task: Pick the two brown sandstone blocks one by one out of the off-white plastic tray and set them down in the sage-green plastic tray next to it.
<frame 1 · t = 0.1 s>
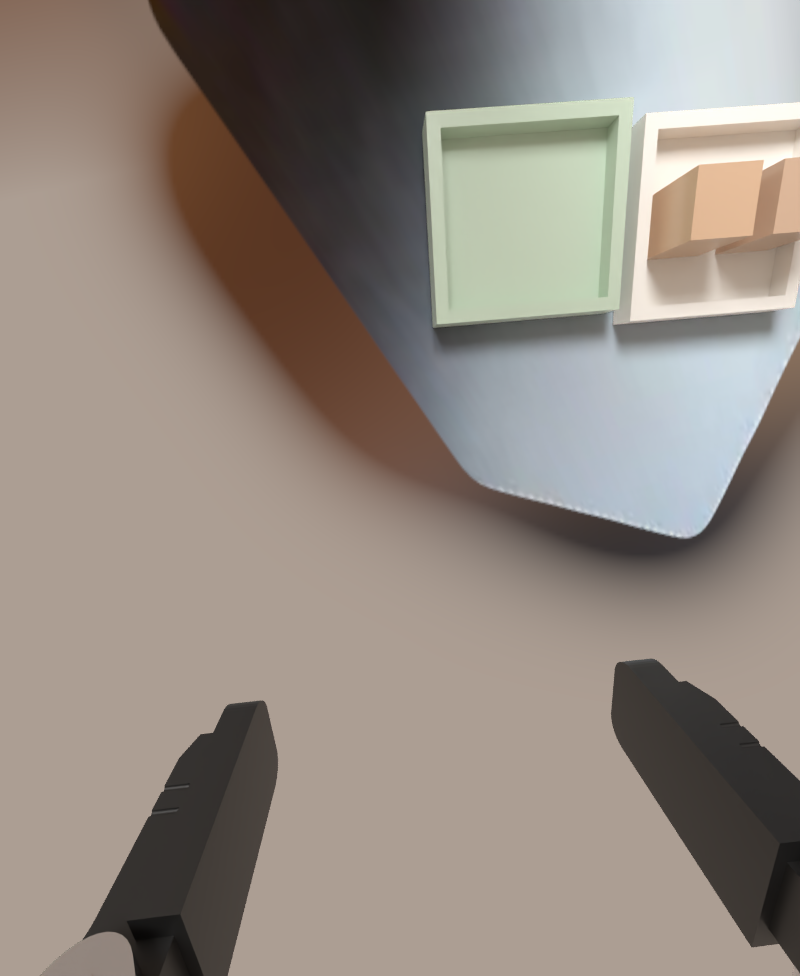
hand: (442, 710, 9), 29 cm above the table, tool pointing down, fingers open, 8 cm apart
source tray: (700, 228, 33), on the table
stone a: (674, 227, 32), point 1 cm above the table, touching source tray
tan block: (745, 221, 32), point 1 cm above the table, touching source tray
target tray: (518, 229, 32), on the table
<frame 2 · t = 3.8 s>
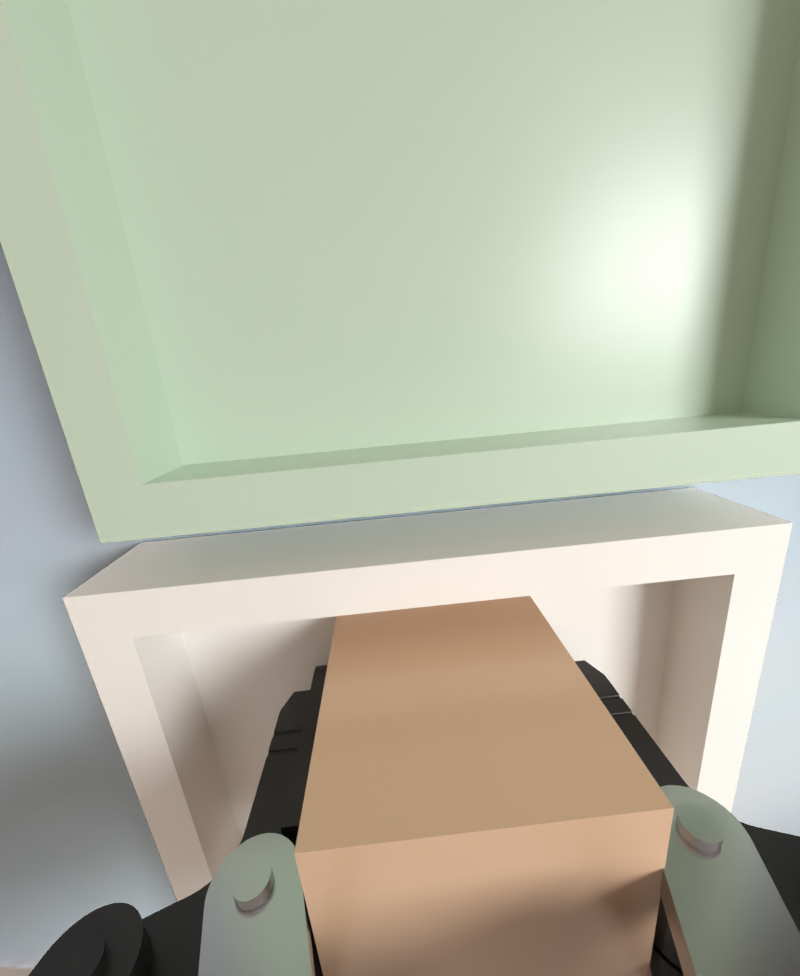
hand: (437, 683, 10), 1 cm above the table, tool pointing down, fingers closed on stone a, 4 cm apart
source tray: (438, 730, 12), on the table
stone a: (437, 673, 10), point 1 cm above the table, touching gripper, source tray
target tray: (442, 91, 7), on the table
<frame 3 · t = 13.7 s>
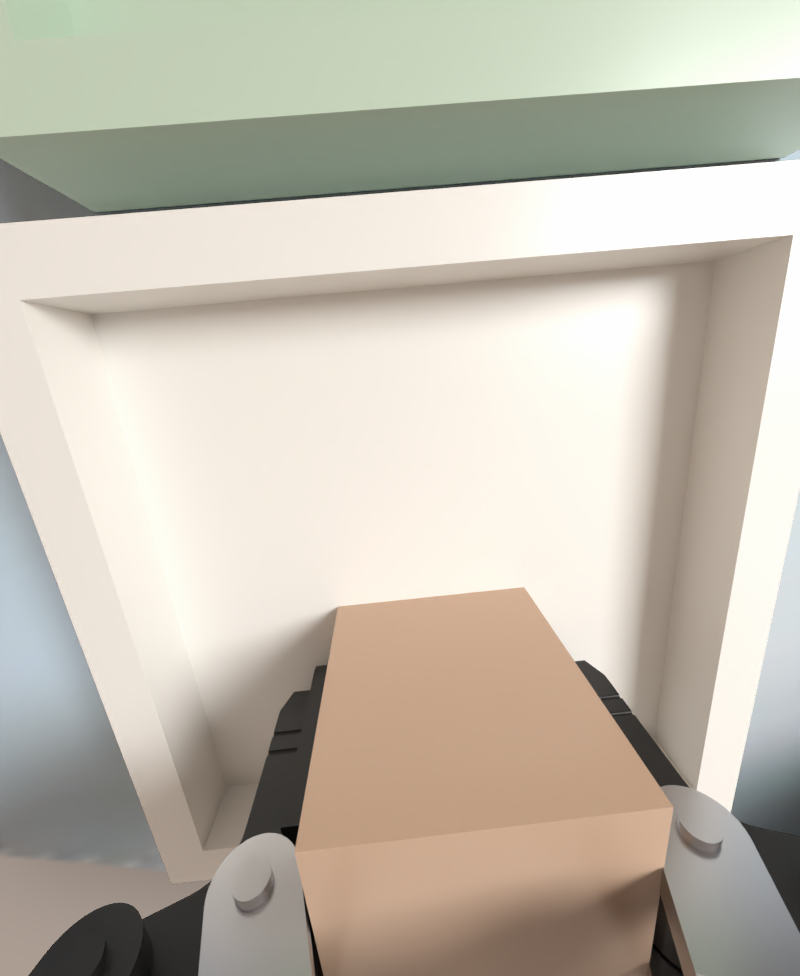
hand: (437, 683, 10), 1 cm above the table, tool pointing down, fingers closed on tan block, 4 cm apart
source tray: (424, 550, 10), on the table
tan block: (437, 673, 10), point 1 cm above the table, touching gripper, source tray
when the fingers open (3 cm above the table, at t = 19.1 s): tan block drops 1 cm, resting on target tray.
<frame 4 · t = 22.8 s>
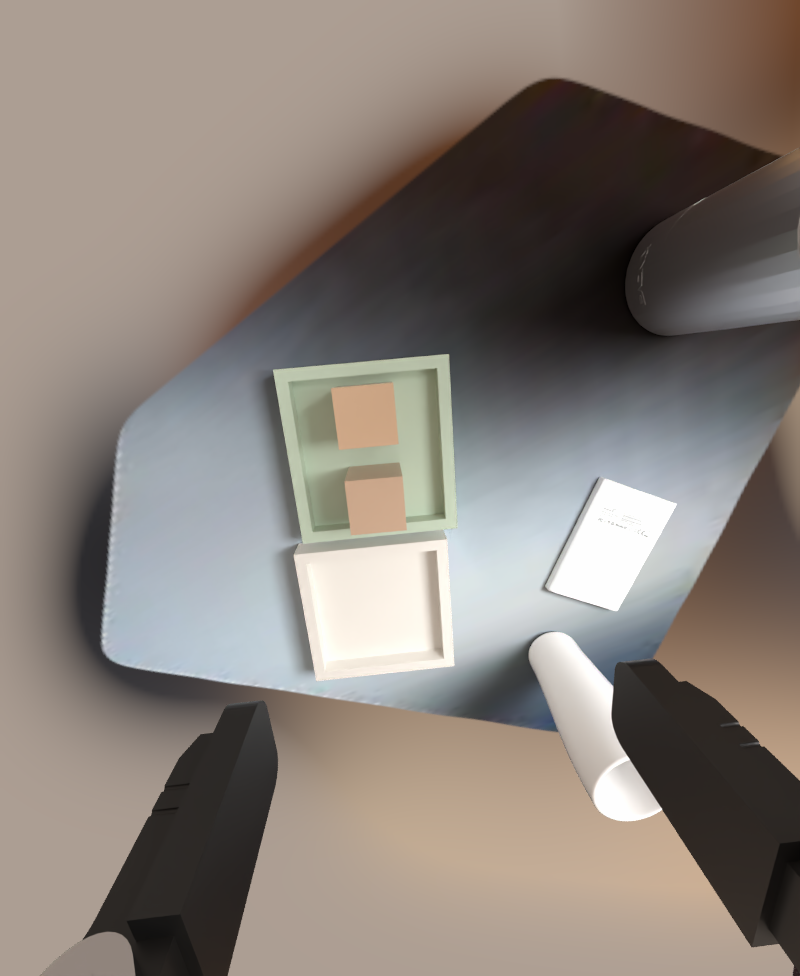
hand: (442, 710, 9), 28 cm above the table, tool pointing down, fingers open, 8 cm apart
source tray: (378, 599, 40), on the table
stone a: (367, 410, 34), point 1 cm above the table, touching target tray
external hard drive: (602, 541, 40), on the table
drinking glass: (549, 648, 43), on the table
tan block: (376, 488, 36), point 1 cm above the table, touching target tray
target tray: (372, 449, 36), on the table
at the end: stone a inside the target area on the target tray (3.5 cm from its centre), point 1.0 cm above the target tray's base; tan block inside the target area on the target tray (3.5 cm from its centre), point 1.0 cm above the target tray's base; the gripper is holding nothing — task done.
